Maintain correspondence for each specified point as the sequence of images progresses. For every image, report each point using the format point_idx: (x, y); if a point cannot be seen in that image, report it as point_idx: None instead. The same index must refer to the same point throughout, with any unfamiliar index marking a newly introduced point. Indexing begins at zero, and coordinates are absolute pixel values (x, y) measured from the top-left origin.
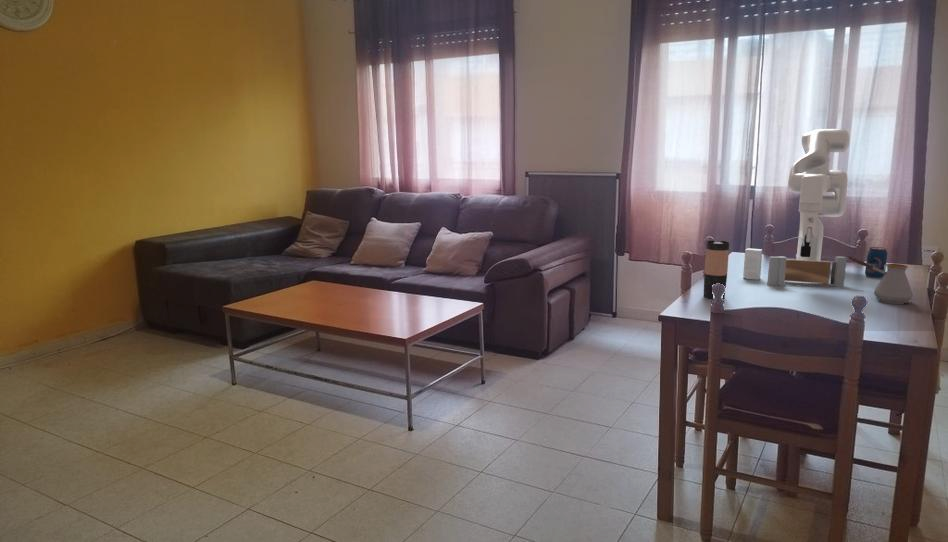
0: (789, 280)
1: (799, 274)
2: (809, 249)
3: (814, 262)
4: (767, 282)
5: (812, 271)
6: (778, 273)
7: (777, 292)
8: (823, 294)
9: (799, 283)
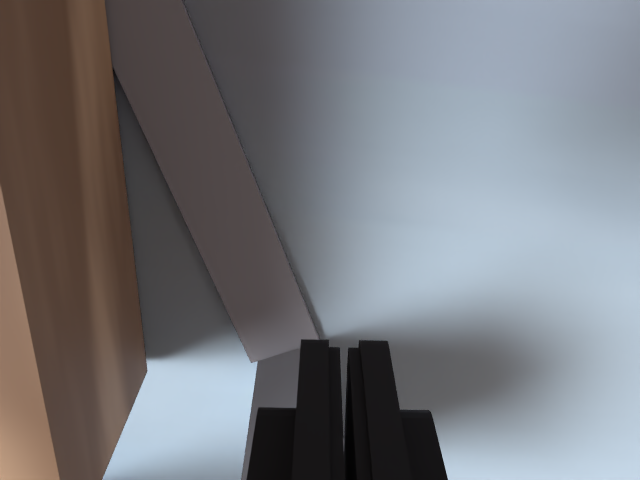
0: (137, 298)
1: (105, 247)
2: (402, 468)
3: (2, 140)
4: None
5: (68, 121)
6: None
7: (612, 401)
8: (635, 29)
9: (188, 210)
